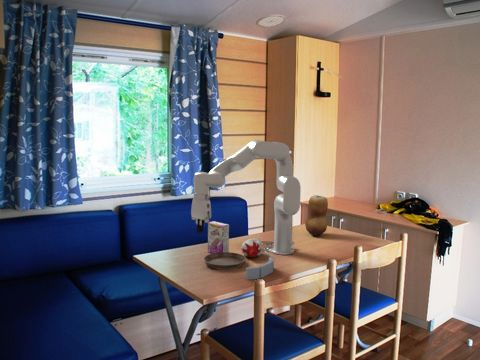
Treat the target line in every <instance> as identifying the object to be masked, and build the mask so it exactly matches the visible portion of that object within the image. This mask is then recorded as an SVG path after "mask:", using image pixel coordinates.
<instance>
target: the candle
mask: <svg viewBox="0 0 480 360" xmlns="http://www.w3.org/2000/svg"><path fill="white" fill-rule="evenodd" d="M240 250H241V253H242V255H243V256H244V257H245V258H255V257H257V256H261V254H262V251H263V245H262V243H261V239H259V238H249V239H247V240H245V241H244V242H243V243H242V244H241V248H240Z"/></svg>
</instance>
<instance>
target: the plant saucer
mask: <svg viewBox="0 0 480 360" xmlns="http://www.w3.org/2000/svg"><path fill="white" fill-rule="evenodd" d="M203 257H204V258H203V260H204V263H206V264H207V266H208V267H210V268H212V269H217V270H233V269H236V268H239V267H241V266H242V265H243V264H244V263H245V262H246V259H247V257H246V256H244V254H241V253H236V252H220V253H210V254H207V255H206V256H203Z"/></svg>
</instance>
